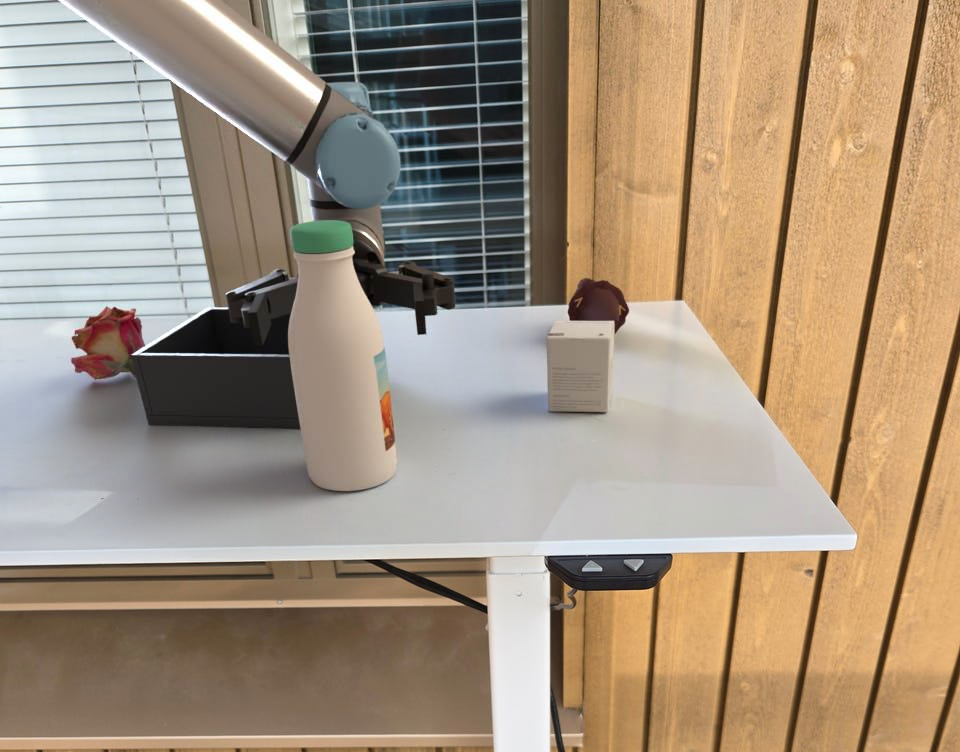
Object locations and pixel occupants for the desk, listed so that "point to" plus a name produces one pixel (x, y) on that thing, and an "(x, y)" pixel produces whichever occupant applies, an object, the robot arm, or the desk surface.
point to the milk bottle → (338, 364)
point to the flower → (108, 343)
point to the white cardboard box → (580, 366)
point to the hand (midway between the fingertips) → (338, 323)
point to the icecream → (598, 303)
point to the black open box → (218, 375)
